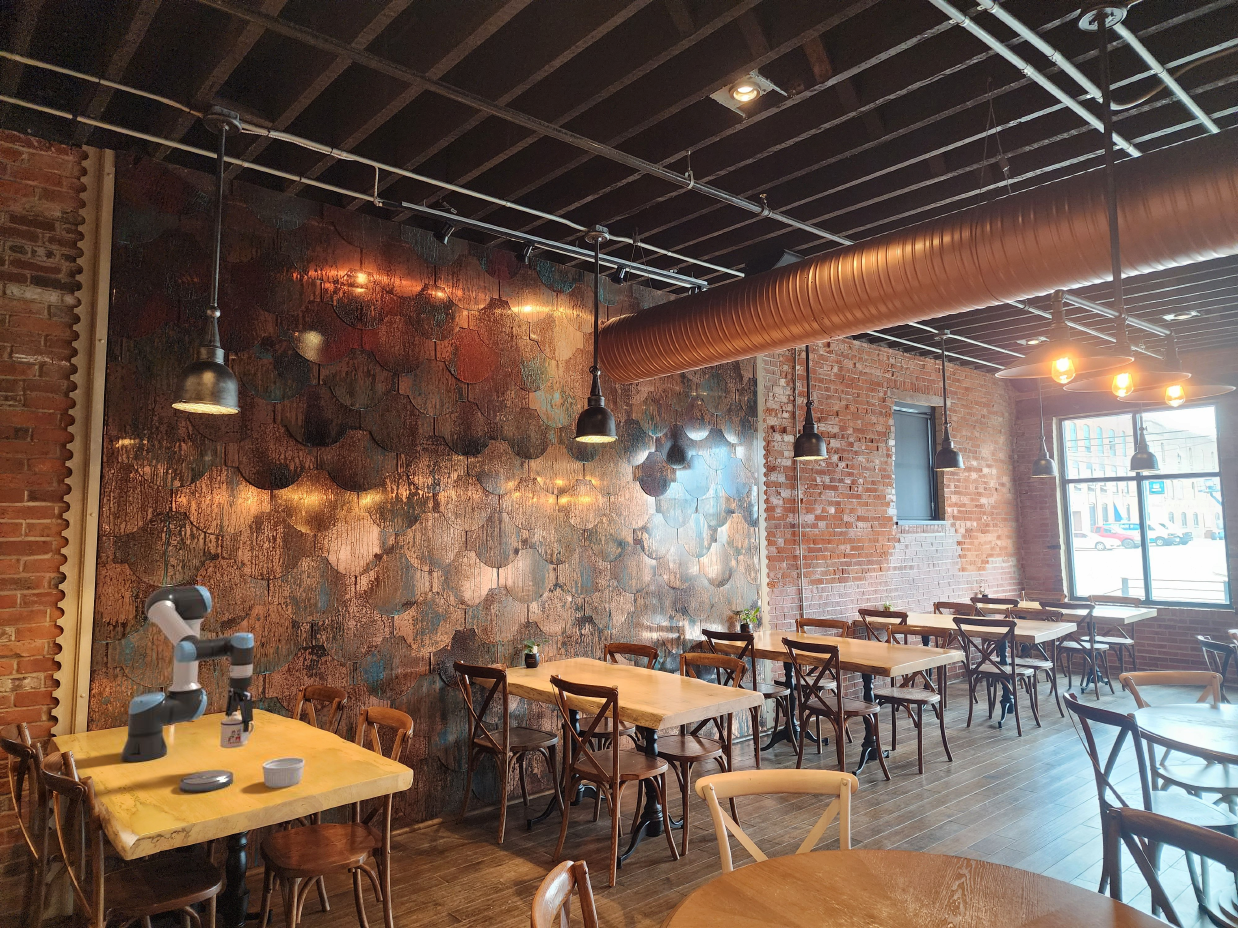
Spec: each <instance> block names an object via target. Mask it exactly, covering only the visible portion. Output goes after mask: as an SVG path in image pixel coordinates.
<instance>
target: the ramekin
mask: <svg viewBox="0 0 1238 928" xmlns="http://www.w3.org/2000/svg"><path fill="white" fill-rule="evenodd" d="M305 764H306V763H305V759H304V758H301V757H290V756H289V757H281V758H275V759H272V760H271V759H270V760H269V761H266V762H265V763H263V764H262V771H263V782H264V784H265V786H266V787H267V786H268V788H272V789H280V788H281V789H282V788H289V787H292V786H295V785H297V784H299V783H300V782H301V780H302V778H303V774H304V773H303V772H304V767H305Z"/></svg>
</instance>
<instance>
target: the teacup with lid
mask: <svg viewBox="0 0 1238 928" xmlns="http://www.w3.org/2000/svg"><path fill="white" fill-rule="evenodd" d="M241 722H242V717H241V714H239V712H238V711H237V712H233V713H232V715H231V716H229V717H226V718H223V719H222V720H221V721H220V724H221V725H220V727H221V729H220V745H219V746H220V747H221V748H222V749H237V748H241V747H243V746H246V745H247V742H248V741H243V742H240V731H241ZM249 725H251V726H250V729H249V736H251V734H252V733H253V732H254V729H255V723H254V721H251V722H249Z"/></svg>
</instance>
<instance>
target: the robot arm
mask: <svg viewBox="0 0 1238 928" xmlns="http://www.w3.org/2000/svg"><path fill="white" fill-rule="evenodd" d="M212 602H213V601H212V597H211V594H210V592H209V590H208V588H206V587H205V586H202V585H186V586H173V587H172V586H171V587H169V586H167V587H162V588H159V589H157V590H155V591H154V592H152V593H151V594H150V595H149V597H147V599H146V601H145V604H144V611H145V612H144V613H145V615H146V617H147V618H148V620H149V621H151V622H152V623H155V624H157V626H158V627H159V628H160V629H161V631H162V632H163V634H165V636H166V637H167V638H168V639H169V641H170V642H171V643H172V644H173V646H174V648H173V656H174V657H173V677H172V685H171V686H170V687H168V690H167V694H165V692H163V691H155V692H148V693H145V694H142V695H141V694H140V695H138V696H136V697H134V698H133V699H132V700H130V702H129V708H128V720H127V721H128V723H127V739H126V741H125V744H124V746H123V748H122V751H121V755H120V760H121V762H126V763H138V762H147V761H152V760H156V759H159V758H162V757H164V756H166V755H167V754H168V745H167V743H166V739H165V737H164V733H163V731H164V726H168V725H172V724H173V725H175V724H179V723H185V722H187V723H188V722H190V721H194V720H198V719H200V718H201V716H203V714H204V713H205V710H206V708H207V704H208V703H207V702H208V697H207V693H206V690H204V689H202V685H201V684H200V683H199V682H198V674H199V661H205V660H206V661H207V660H214V659H215V660H216V659H223V658H230V664H229V665H230V667H229V668H228V669H229V670H228V671H229V676H230V677H229V681H228V687H229V688H230V689H228V691H227V701H226V705H225V706H226V707H225V714H224V715H225V717H226V718H228V717H229V716H231V715H232V713H233V712H238V708H239V710H240V715H241V717H242V722H241V731H240V742H243V741H247V742H248V741H249V739H250V738H249V737H250V735H249V731H250V724H249V722H254V716H253V714H254V713H253V711H254V710H253V693H252V692H251V693H249V691H248V689H249V688H250V687H251V686H252V684H253V676H252V675H253V670H254V666H253V665H254V663H253V661H254V649H255V648H254V647H255V641H254V638H255V637H254V634H253V633H251V632H237V633H233V634H232V635H231V636H230V635H221V636H219V637H213V638H212V637H211V638H205V639H203V638H202V639H201V638H200V635H201V633H200V631H201V623H202V622H203V621H204V620H205V617H206V615H207V614H209V613H210V611H211V609H212Z"/></svg>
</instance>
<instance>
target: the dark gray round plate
mask: <svg viewBox="0 0 1238 928" xmlns="http://www.w3.org/2000/svg"><path fill="white" fill-rule="evenodd" d="M233 783H234V772H232V771H228V770H225V769H214V770H213V769H211V770H205V771H197V772H195V773H191V774H189V775H187V776H184V777H183V778H181V779H180V780H179V791H180V792H182V793H184V794H201V793H203V794H204V793H208V792H214V791H219V790H223V789H225V788H227V787H229V786H231V785H232V784H233ZM230 784H231V785H230Z"/></svg>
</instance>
